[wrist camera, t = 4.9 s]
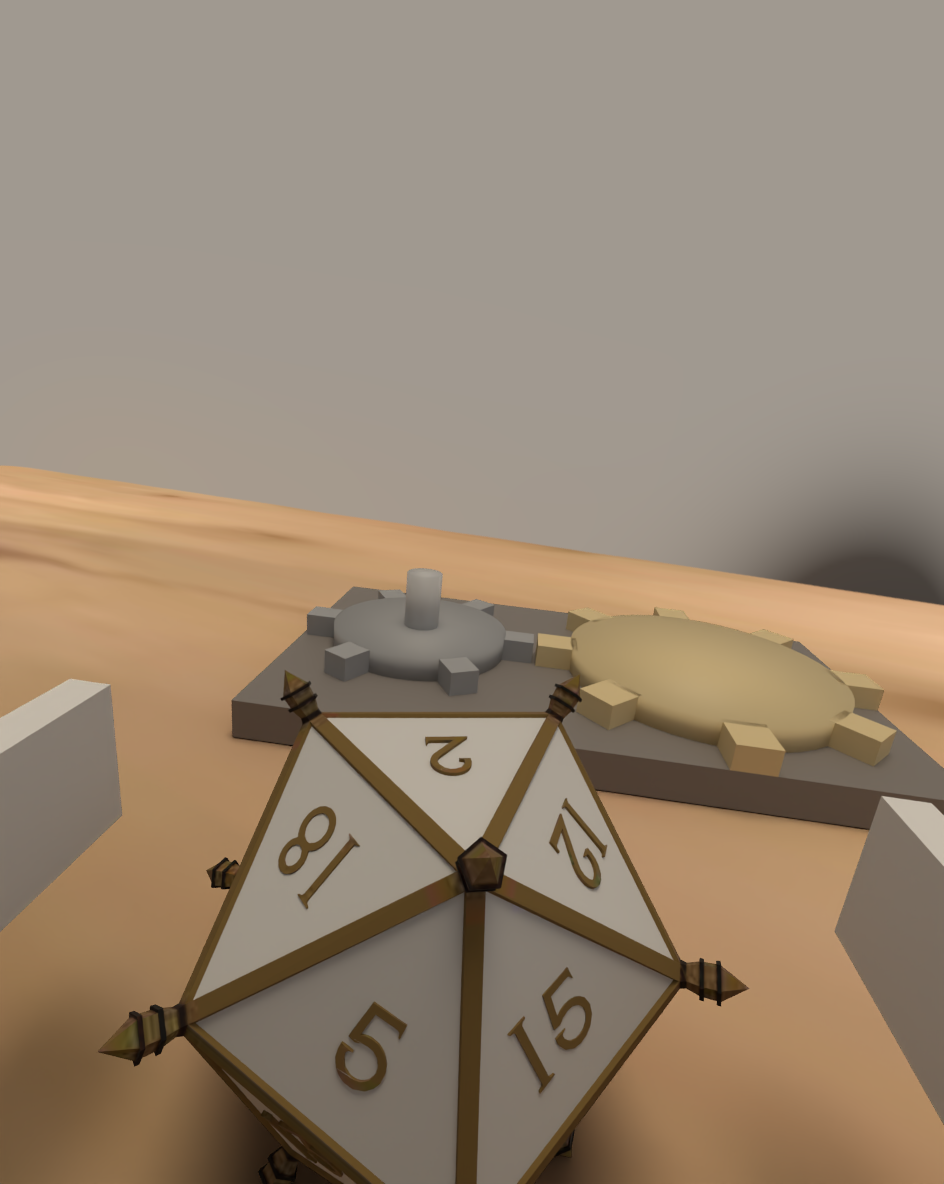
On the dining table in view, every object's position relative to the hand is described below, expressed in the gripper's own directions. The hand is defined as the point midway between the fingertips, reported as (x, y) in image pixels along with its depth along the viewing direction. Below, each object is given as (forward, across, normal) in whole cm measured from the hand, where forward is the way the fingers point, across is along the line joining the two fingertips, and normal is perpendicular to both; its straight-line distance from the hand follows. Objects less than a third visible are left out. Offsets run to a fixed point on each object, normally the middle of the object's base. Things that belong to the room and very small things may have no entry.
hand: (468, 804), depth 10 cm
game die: (-1, 0, -6) cm, 6 cm away
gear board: (+17, +4, -6) cm, 19 cm away
